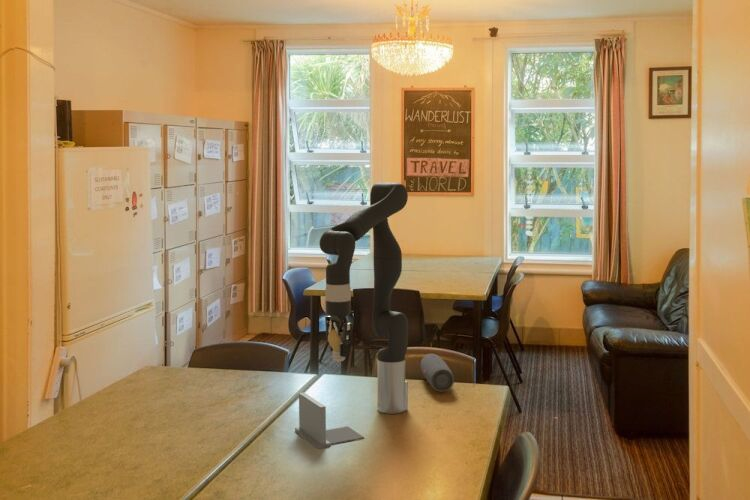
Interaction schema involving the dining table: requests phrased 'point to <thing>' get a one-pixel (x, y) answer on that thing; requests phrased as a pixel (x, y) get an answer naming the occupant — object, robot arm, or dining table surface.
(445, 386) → the bluetooth speaker
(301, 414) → the screen
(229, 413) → the dining table surface
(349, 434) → the mat
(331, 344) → the yellow light bulb
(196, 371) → the dining table surface
